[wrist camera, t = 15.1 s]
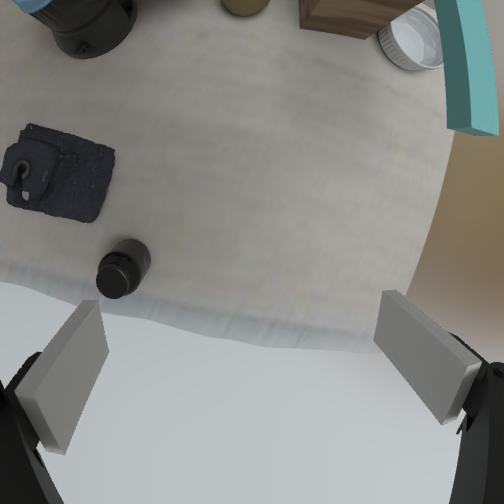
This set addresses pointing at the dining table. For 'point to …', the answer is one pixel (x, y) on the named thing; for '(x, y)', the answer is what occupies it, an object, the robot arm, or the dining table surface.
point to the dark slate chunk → (57, 173)
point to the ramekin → (413, 40)
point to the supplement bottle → (123, 269)
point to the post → (351, 15)
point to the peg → (468, 67)
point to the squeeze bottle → (245, 6)
